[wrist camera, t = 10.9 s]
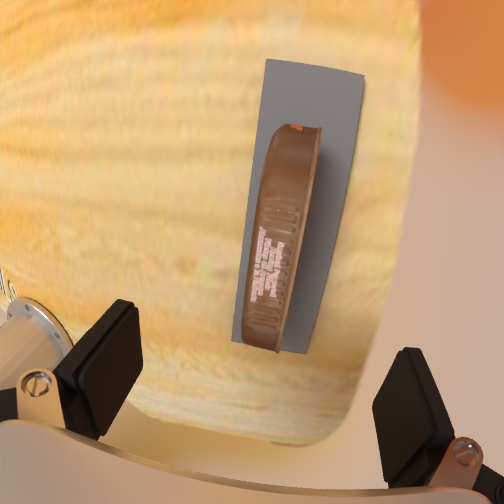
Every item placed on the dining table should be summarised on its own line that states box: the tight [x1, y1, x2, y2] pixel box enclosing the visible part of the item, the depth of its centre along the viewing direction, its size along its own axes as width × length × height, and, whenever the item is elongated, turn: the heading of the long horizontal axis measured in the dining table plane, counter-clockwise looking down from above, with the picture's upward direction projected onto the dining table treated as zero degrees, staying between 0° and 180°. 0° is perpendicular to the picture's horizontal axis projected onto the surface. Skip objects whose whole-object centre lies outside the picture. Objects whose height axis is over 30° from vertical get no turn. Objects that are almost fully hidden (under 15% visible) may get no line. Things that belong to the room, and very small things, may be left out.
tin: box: [241, 124, 322, 353], centre depth 20 cm, size 15×3×8 cm, turn 173°
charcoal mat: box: [231, 59, 365, 354], centre depth 24 cm, size 24×7×1 cm, turn 173°
